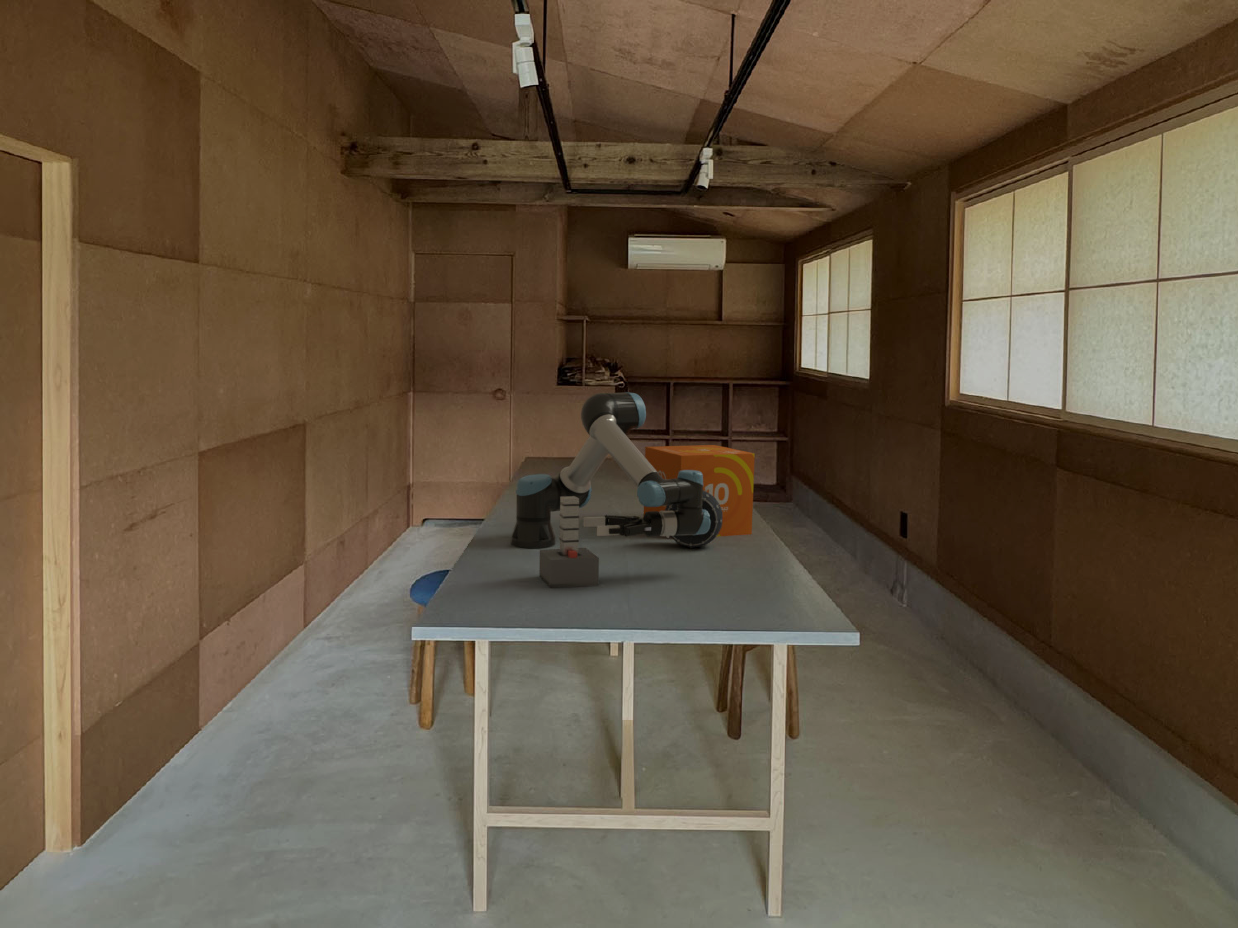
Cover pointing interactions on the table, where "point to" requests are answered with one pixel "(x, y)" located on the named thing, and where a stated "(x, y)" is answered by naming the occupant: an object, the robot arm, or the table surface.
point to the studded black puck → (715, 524)
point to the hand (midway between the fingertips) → (590, 526)
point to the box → (713, 479)
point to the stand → (569, 568)
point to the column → (569, 524)
